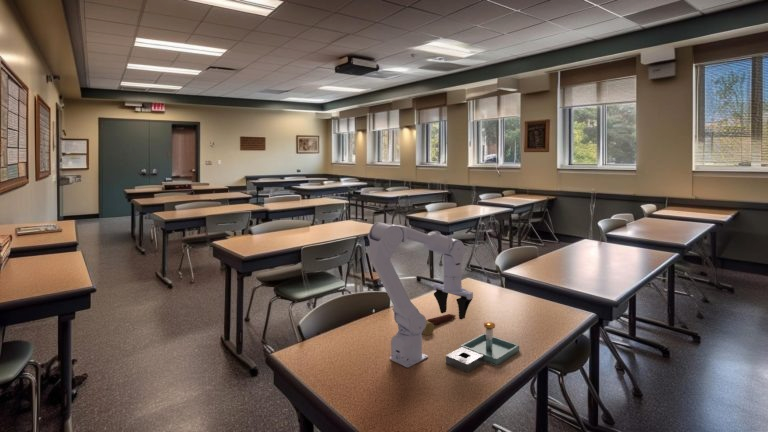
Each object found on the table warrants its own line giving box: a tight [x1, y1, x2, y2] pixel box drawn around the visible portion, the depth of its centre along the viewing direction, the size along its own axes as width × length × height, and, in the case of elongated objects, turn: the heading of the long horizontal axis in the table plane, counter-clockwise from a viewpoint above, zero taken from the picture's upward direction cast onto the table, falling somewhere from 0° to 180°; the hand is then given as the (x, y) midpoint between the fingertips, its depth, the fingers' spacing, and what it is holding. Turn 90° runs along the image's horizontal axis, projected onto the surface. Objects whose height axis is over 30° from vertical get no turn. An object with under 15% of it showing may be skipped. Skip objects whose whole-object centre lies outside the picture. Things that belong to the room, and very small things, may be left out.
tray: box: [459, 332, 520, 367], centre depth 132 cm, size 13×13×2 cm
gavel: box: [422, 313, 457, 336], centre depth 155 cm, size 21×5×10 cm
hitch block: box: [445, 347, 485, 373], centre depth 124 cm, size 8×8×2 cm
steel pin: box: [483, 321, 496, 352], centre depth 131 cm, size 3×3×9 cm
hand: (452, 315), depth 135 cm, fingers open, 7 cm apart
